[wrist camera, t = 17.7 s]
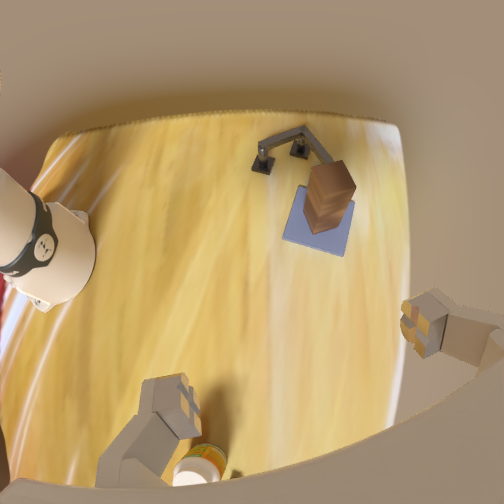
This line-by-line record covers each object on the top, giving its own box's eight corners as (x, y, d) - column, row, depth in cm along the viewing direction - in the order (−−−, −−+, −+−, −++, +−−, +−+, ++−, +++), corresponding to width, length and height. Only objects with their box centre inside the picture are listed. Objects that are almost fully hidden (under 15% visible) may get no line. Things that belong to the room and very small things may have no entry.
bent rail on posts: (251, 170, 47) (249, 148, 42) (266, 135, 50) (265, 113, 45) (330, 191, 45) (337, 171, 40) (339, 154, 48) (345, 132, 43)
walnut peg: (312, 234, 42) (325, 195, 32) (302, 211, 44) (311, 166, 33) (337, 227, 43) (356, 187, 32) (327, 204, 44) (342, 160, 34)
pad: (282, 239, 43) (282, 237, 42) (298, 188, 46) (298, 186, 45) (342, 257, 42) (343, 255, 41) (353, 204, 44) (354, 202, 44)
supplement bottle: (210, 435, 34) (193, 456, 25) (235, 465, 32) (226, 493, 23) (180, 453, 33) (156, 476, 24) (204, 482, 31) (187, 511, 22)
